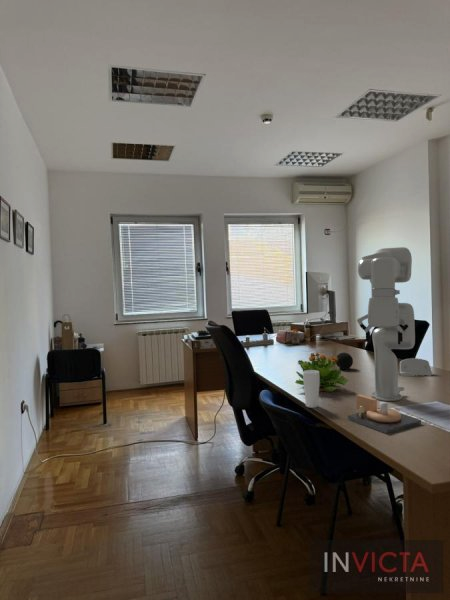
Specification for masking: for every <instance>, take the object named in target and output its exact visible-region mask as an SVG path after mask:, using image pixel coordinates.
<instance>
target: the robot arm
mask: <svg viewBox="0 0 450 600" xmlns="http://www.w3.org/2000/svg"><path fill="white" fill-rule="evenodd" d="M412 259H413V257H412V253H411V251H410V249H409V248H407V247H404V246H402V247H385V248H380V249H378V250H376V252H375V253H373V254H369V255H365V256H363V257H360V260H359V262H358V265H357V272H358V277H359V278H360V279H362V280H367V281H368V280H369V282H370V284H371V297H369V300H368V307H367V314H365V315H363V316H361V317H359V318H357V320H356V322H357V323H358V325H359V327H360V328H361V329H362V331H364V333H365V342H367V344H371V339H372V345H373V351H374V352H373V353H374V391H373V392H371V398H374V399H377V401H382V402H386V401H387V402H397V401H400V400H402V398H403V396H402V394H400V392H404V391H405V387H404V386H403V385H402V386H399V383H398V381H399V378H398V377H399V376H398V375H399V364H398V358H397V356H396V354H395V353H394V352H393V351H392V350H411V349H413V348H414V346H415V344H416V331H415V330H416V329H415V328H416V327H415V312H414V311H415V310H414V307H413V305H412V304H410V303H407V302H399V299H398V297H396V295H400V294H401V293H400V292H401V291H400V289H396V284H399V283H400V284H401V283H402V284H403V283H406V282H409V281H410V280H411V277H412V267H413V265H412V263H413V260H412ZM365 320H367V324H368V325H367V326H366V325H364V323H363V321H365ZM401 326H402V327H401ZM372 328H375V329H374V330H373V331H372V335H371V331H370V330H371V329H372Z"/></svg>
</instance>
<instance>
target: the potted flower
mask: <svg viewBox="0 0 450 600" xmlns="http://www.w3.org/2000/svg"><path fill="white" fill-rule="evenodd" d="M337 361H338V358H337V356H335V355H334V356H332V357H326V355H324V354H322V355H320V353H319V352H316V353H315V352H312V353H310V357H308V361H306V360H305V361H303V359H301V360H299V359H298V360H297V364H298V365H299V366H300V368H301V370H302V372H303V371H305V370H317V371H319V376H320V383H319V392H327V393H331V392H333V391H335V390H338V389H340V386H338V384H339V385H342V386H345V385H346V383H348V382H349V380H350V379H349V378H348V377H345V376H344V375H341V374H342V369H337V367H335V366H336V365H337V364H336V362H337ZM295 373H296V374H297V375H298V377H299V379H296V380H295V381H294V383H295V384H297V385H300V386H301V385H302V386H304V381H303V374H302V373H300V372H299V371H295ZM340 375H341V376H340ZM300 378H301V379H300Z"/></svg>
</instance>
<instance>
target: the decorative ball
mask: <svg viewBox="0 0 450 600" xmlns="http://www.w3.org/2000/svg"><path fill="white" fill-rule="evenodd" d="M336 357H337V358H338V361H337V362H336V364H335V365H336V366H337V367H338V368H339V369H340V370H348V369H350V368H352V366H353V364H354V360H353V357H352V355H351V354H350V353H348V352H340V353H338V354H337V356H336Z"/></svg>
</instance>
